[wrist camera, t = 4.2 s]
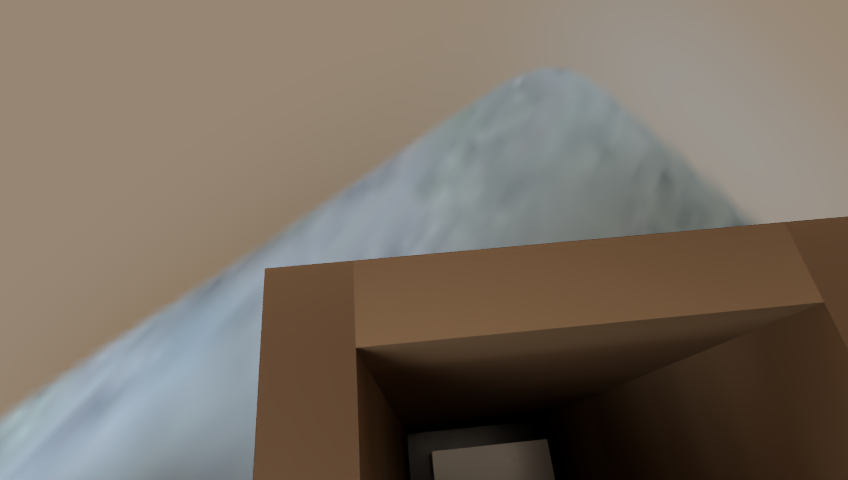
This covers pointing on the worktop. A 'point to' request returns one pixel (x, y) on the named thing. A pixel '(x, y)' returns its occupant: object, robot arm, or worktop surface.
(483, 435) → the stake base
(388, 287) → the sleeve
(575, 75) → the worktop surface
